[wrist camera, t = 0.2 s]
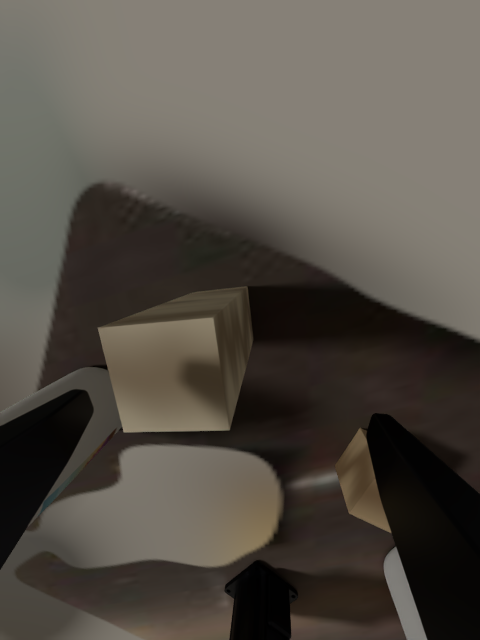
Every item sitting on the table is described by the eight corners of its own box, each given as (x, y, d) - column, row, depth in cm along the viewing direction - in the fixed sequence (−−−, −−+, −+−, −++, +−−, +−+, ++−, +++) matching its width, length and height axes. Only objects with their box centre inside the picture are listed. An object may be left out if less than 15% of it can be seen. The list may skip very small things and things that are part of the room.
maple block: (253, 339, 23) (229, 430, 11) (202, 343, 24) (123, 432, 11) (247, 286, 22) (213, 317, 10) (194, 292, 23) (97, 327, 10)
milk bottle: (63, 362, 27) (-496, 627, 7) (130, 366, 26) (-309, 687, 6) (73, 425, 28) (-354, 773, 9) (136, 431, 27) (-191, 837, 8)
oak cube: (380, 486, 25) (405, 539, 20) (334, 465, 25) (349, 513, 20) (408, 449, 24) (442, 497, 19) (359, 427, 24) (381, 469, 19)
